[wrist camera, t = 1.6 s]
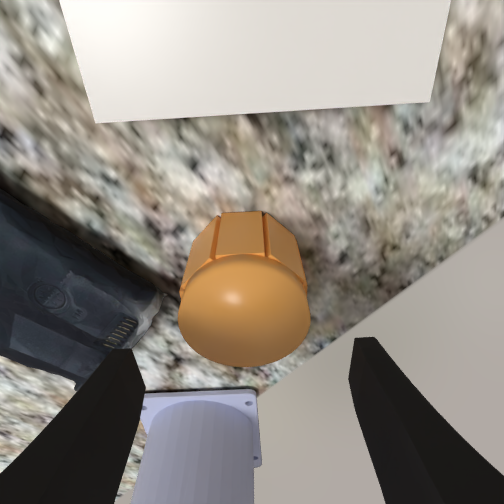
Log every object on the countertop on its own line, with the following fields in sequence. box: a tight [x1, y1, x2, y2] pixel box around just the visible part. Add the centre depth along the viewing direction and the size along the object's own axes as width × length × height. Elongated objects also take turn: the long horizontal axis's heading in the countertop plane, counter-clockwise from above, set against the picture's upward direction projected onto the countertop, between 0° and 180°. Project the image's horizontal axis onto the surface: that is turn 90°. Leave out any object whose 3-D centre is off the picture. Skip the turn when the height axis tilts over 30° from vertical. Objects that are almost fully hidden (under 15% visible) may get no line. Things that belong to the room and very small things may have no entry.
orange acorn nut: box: [178, 211, 311, 367], centre depth 15 cm, size 5×5×4 cm
